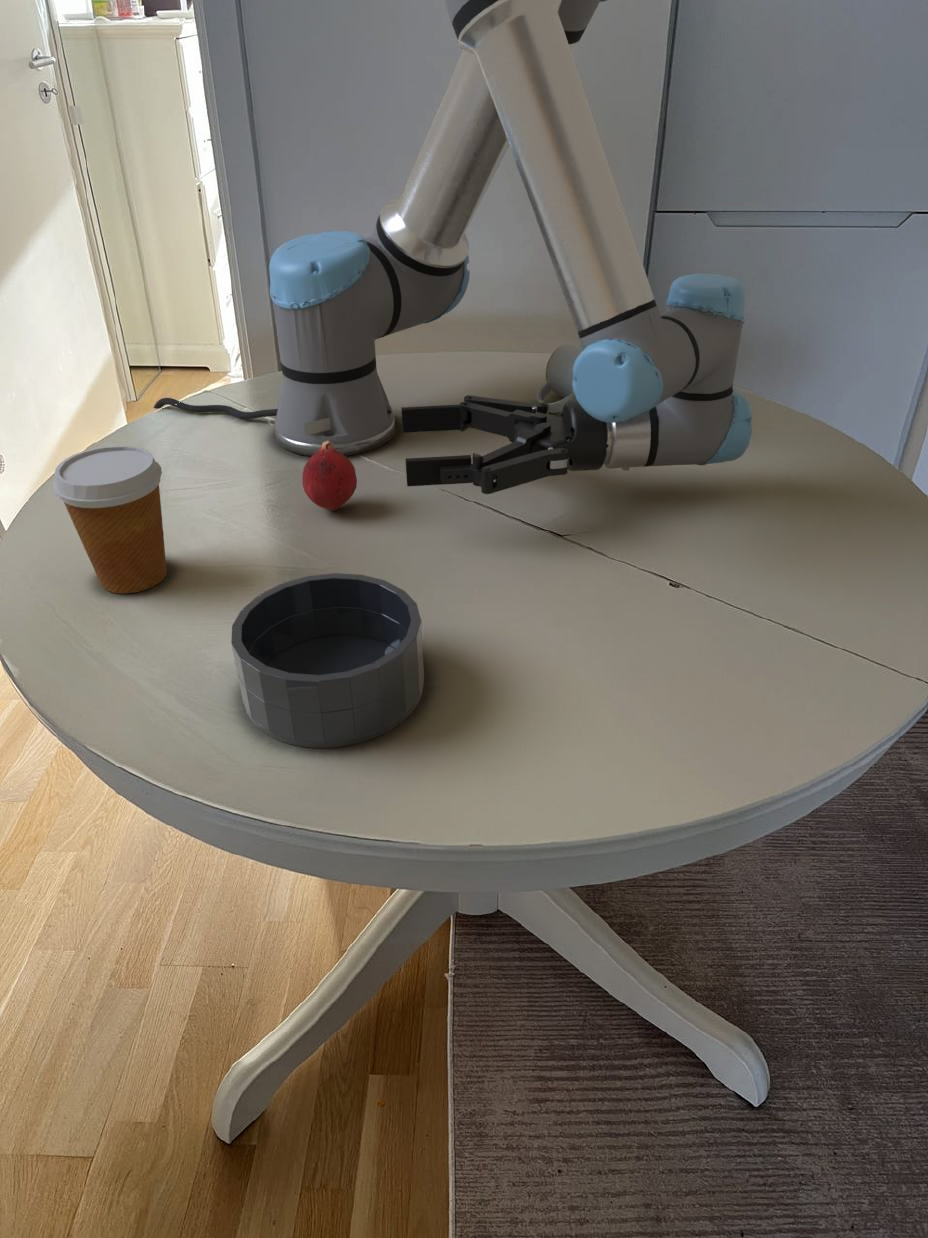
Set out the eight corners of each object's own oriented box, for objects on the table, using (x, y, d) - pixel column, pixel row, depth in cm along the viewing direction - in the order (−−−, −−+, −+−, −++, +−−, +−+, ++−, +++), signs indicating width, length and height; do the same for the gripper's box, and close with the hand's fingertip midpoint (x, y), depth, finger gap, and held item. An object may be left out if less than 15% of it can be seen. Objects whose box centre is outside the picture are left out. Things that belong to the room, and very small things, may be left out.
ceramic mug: (579, 385, 131) (582, 332, 126) (621, 402, 125) (624, 346, 121) (522, 405, 126) (523, 349, 121) (563, 423, 120) (564, 365, 116)
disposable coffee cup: (87, 613, 85) (52, 496, 78) (79, 564, 92) (46, 454, 85) (191, 589, 88) (166, 475, 81) (175, 544, 95) (151, 436, 88)
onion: (350, 525, 98) (343, 456, 94) (298, 520, 99) (289, 452, 95) (365, 500, 103) (359, 433, 98) (316, 496, 104) (308, 429, 99)
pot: (208, 691, 75) (193, 626, 72) (344, 616, 84) (337, 555, 80) (322, 776, 67) (312, 708, 63) (460, 683, 76) (458, 618, 72)
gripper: (626, 520, 90) (410, 533, 89) (578, 422, 111) (402, 431, 110) (632, 449, 86) (406, 461, 85) (581, 361, 107) (398, 370, 105)
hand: (403, 444), depth 97 cm, fingers open, 13 cm apart
